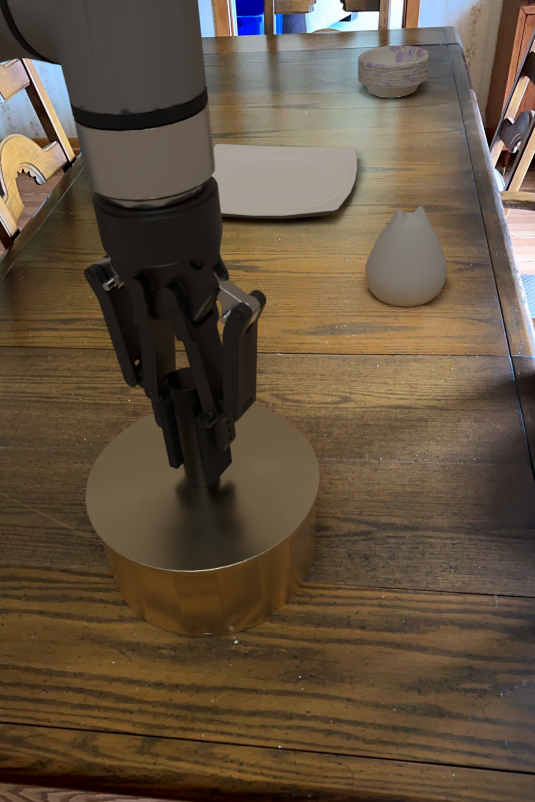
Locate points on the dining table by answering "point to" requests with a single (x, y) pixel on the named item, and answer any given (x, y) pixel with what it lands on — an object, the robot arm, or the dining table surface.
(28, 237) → the dining table surface
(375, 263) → the toy character
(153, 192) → the robot arm
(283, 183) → the plate
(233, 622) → the pot
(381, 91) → the paper bowls
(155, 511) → the lid
